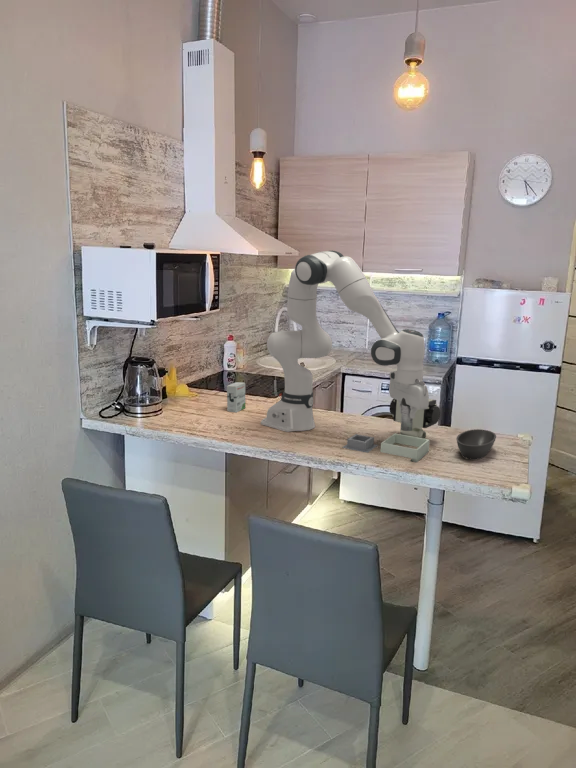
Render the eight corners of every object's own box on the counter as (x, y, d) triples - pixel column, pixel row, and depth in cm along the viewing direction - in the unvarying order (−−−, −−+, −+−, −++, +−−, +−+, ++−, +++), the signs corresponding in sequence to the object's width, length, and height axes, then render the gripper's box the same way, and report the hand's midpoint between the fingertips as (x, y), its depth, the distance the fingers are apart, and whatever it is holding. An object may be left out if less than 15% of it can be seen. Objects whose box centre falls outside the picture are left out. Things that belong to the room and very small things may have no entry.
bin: (380, 455, 204) (381, 442, 203) (393, 444, 215) (394, 433, 214) (416, 462, 197) (417, 449, 196) (428, 451, 208) (429, 439, 207)
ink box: (236, 406, 263) (236, 381, 260) (246, 408, 261) (246, 382, 258) (226, 411, 255) (226, 385, 253) (236, 412, 253) (236, 386, 251)
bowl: (500, 449, 213) (502, 433, 211) (482, 466, 195) (484, 448, 194) (468, 442, 219) (469, 427, 218) (447, 458, 202) (448, 441, 200)
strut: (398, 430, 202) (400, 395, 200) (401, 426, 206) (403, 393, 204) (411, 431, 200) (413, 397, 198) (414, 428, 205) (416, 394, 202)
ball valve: (440, 441, 220) (443, 396, 216) (429, 446, 214) (432, 400, 210) (398, 431, 231) (401, 388, 227) (387, 435, 225) (390, 391, 221)
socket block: (341, 450, 207) (342, 439, 206) (353, 443, 216) (353, 432, 215) (367, 455, 202) (368, 444, 202) (378, 448, 211) (379, 437, 210)
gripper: (434, 382, 191) (431, 423, 194) (402, 371, 210) (400, 408, 213) (418, 383, 189) (415, 424, 192) (387, 372, 208) (385, 409, 211)
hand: (407, 415), depth 202 cm, fingers closed on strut, 4 cm apart
